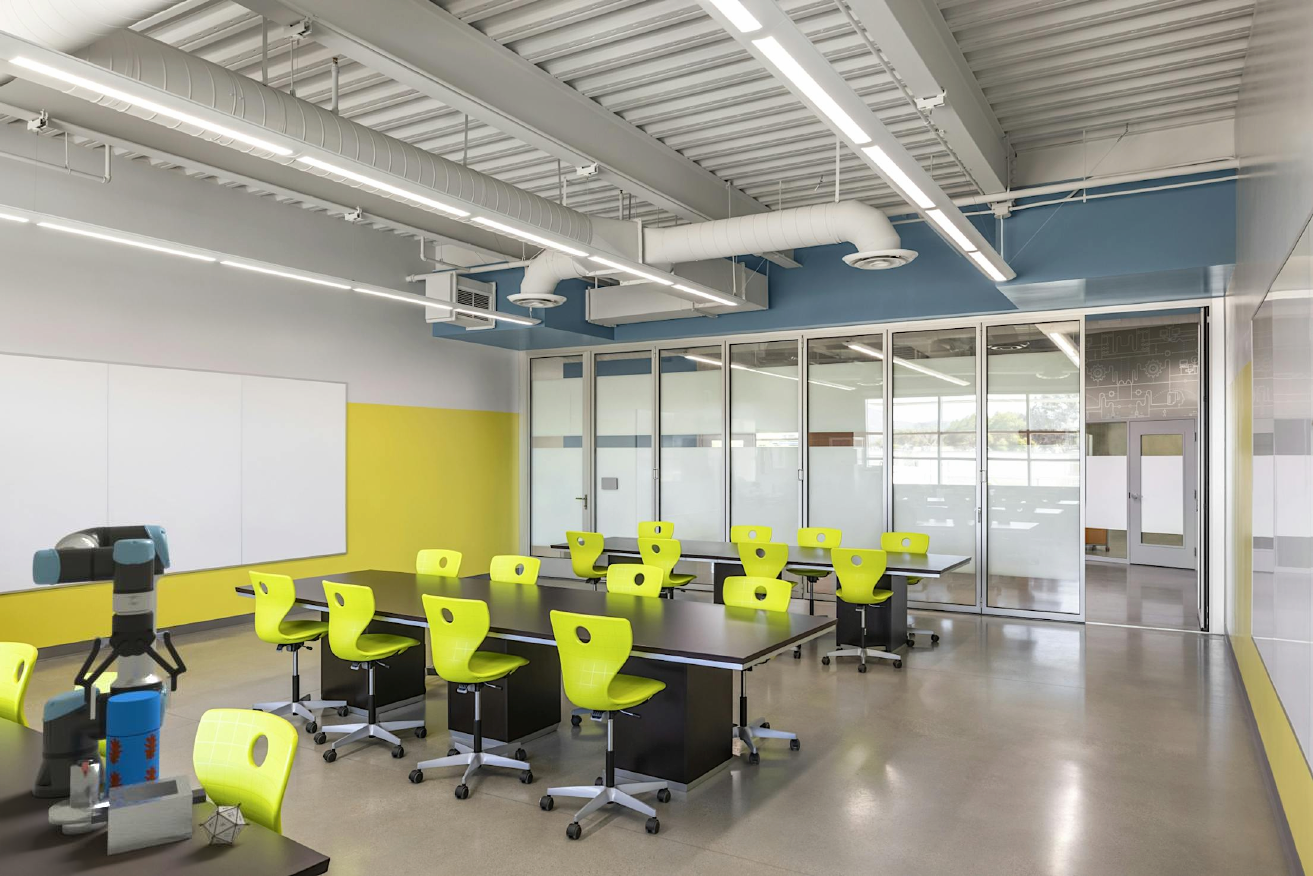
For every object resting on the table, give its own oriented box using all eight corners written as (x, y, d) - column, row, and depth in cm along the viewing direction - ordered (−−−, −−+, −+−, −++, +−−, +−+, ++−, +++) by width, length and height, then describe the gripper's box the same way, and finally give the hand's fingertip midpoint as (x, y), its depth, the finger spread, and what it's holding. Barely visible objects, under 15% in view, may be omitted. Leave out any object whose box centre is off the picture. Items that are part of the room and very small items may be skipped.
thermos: (132, 813, 191) (134, 703, 192) (93, 810, 193) (95, 701, 194) (169, 796, 202) (171, 691, 203) (131, 793, 204) (133, 689, 205)
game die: (223, 866, 172) (206, 839, 166) (201, 843, 176) (185, 816, 171) (262, 833, 178) (248, 805, 172) (241, 811, 182) (226, 783, 177)
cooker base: (92, 833, 180) (92, 791, 181) (202, 811, 192) (202, 771, 192) (89, 859, 168) (90, 813, 168) (207, 834, 179) (208, 791, 180)
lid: (50, 823, 186) (51, 757, 187) (119, 810, 193) (120, 747, 194) (45, 844, 175) (47, 774, 176) (119, 829, 182) (120, 762, 183)
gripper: (60, 620, 169) (58, 726, 168) (200, 608, 182) (199, 706, 181) (62, 615, 175) (60, 717, 174) (197, 604, 188) (196, 699, 188)
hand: (131, 712), depth 178 cm, fingers open, 13 cm apart
